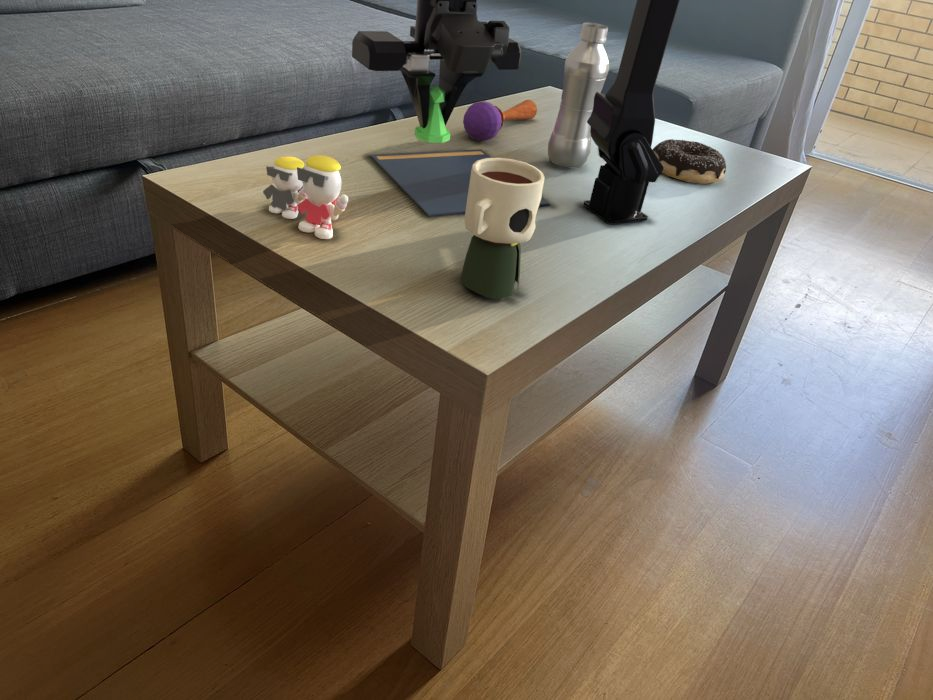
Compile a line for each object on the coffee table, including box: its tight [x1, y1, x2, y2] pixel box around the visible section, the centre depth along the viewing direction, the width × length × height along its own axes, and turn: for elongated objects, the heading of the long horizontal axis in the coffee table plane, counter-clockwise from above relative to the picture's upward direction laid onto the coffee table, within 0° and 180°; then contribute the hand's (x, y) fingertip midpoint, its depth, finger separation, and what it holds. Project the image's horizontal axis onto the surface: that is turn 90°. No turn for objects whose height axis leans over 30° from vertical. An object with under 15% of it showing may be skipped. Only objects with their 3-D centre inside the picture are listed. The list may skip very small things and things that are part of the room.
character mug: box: [459, 157, 546, 299], centre depth 73 cm, size 11×7×13 cm, turn 149°
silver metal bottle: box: [547, 22, 610, 169], centre depth 105 cm, size 6×7×20 cm
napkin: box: [370, 149, 551, 217], centre depth 100 cm, size 18×20×1 cm
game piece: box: [414, 85, 451, 144], centre depth 85 cm, size 4×4×6 cm
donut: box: [652, 138, 727, 185], centre depth 114 cm, size 11×12×4 cm
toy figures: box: [262, 154, 349, 240], centre depth 81 cm, size 12×4×8 cm, turn 49°
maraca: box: [462, 99, 538, 142], centre depth 119 cm, size 6×6×20 cm
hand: (432, 127), depth 86 cm, fingers closed on game piece, 2 cm apart
